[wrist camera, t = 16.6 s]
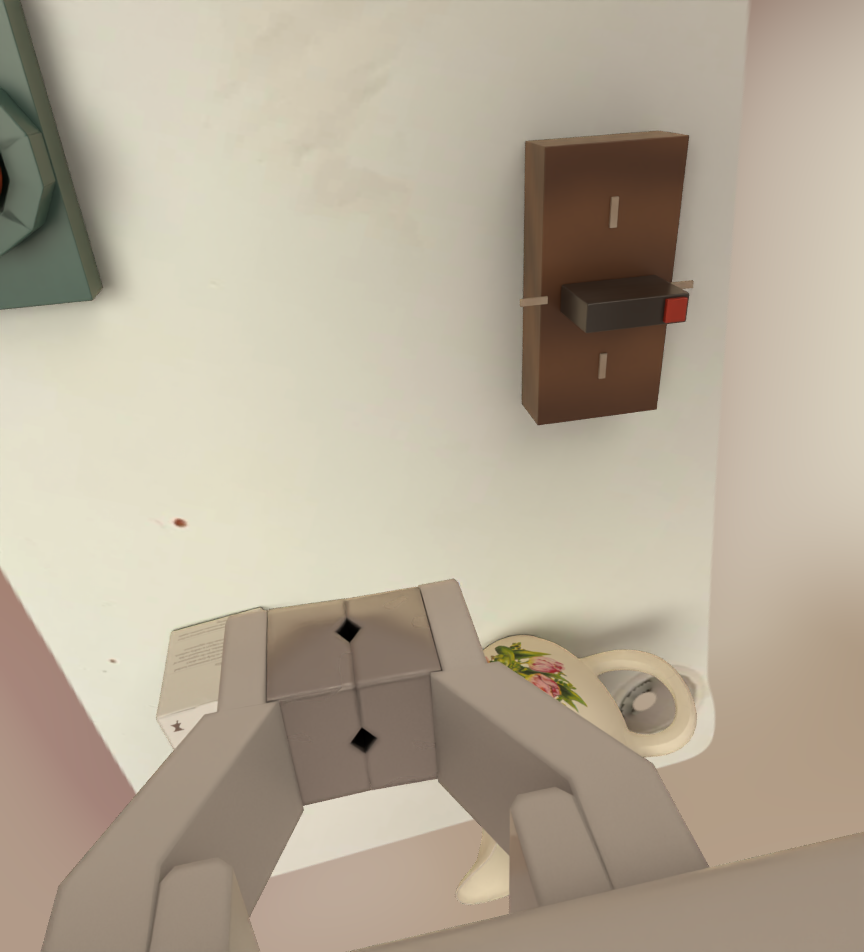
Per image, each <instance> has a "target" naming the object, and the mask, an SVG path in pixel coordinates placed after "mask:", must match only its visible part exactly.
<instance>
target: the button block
mask: <svg viewBox="0 0 864 952" xmlns="http://www.w3.org/2000/svg"><path fill="white" fill-rule="evenodd" d="M0 168H1V172H2V190H1V194H0V310H2V309H12V308H22V307H32V306H41V305H51V304H61V303H71V302H81V301H91V300H93V299H94V298H95V297H96V296H97V294H98V293H99V292H100V291H101V289H102V288H103V286H102V283H101V280H100V276H99V273H98V269H97V266H96V262H95V259H94V255H93V252H92V248H91V245H90V241H89V238H88V234H87V231H86V228H85V224H84V221H83V217H82V214H81V210H80V207H79V203H78V200H77V196H76V193H75V189H74V186H73V182H72V179H71V176H70V172H69V169H68V165H67V162H66V158H65V155H64V151H63V148H62V144H61V141H60V137H59V134H58V130H57V127H56V124H55V120H54V117H53V113H52V110H51V106H50V103H49V99H48V96H47V92H46V89H45V85H44V82H43V78H42V75H41V72H40V68H39V65H38V61H37V58H36V54H35V51H34V47H33V44H32V40H31V37H30V33H29V30H28V26H27V23H26V20H25V16H24V13H23V9H22V6H21V2H20V0H0Z"/></svg>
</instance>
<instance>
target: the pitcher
mask: <svg viewBox="0 0 864 952" xmlns="http://www.w3.org/2000/svg"><path fill="white" fill-rule="evenodd" d="M483 652H484V655H485V658H486V661H487V663H491V662H497V661H499V662H500V663H502V664H503V665H505V666H507V667H508V668H510V669H511V670H513V671H514V672H516V673H517V674H519V675H520V676H522V677H523V678H525V679H526V680H528V681H529V682H531V683H532V684H534V685H535V686H537V687H538V688H540V689H541V690H543V691H544V692H546V693H547V694H549V695H550V696H552V697H553V698H555V699H556V700H558V701H559V702H561V703H562V704H564V705H565V706H567V707H568V708H570V709H571V710H573V711H574V712H576V713H577V714H579V715H580V716H582V717H583V718H585V719H586V720H588V721H589V722H591V723H592V724H594V725H595V726H597V727H598V728H600V729H601V730H603V731H604V732H606V733H607V734H609V735H610V736H612V737H613V738H615V739H616V740H618V741H619V742H621V743H622V744H624V745H625V746H627V747H628V748H630V749H631V750H633V751H634V752H636V753H638V754H639V755H641V756H642V757H653V756H662V755H666V754H670V753H673V752H675V751H677V750H679V749H681V748H682V747H683V746H684V745H686V744H687V743H688V742H689V740H690V739H691V737H692V736H693V734H694V731H695V728H696V721H697V713H696V708H695V703H694V700H693V698H692V695H691V693H690V691H689V688H688V687H687V685H686V683H685V682H684V680H683V679H682V677H681V676H680V674H679V673H678V672H677V671H676V670H675V669H674V668H673V667H672V666H671V665H670V664H669V663H667V662H666V661H665V660H663V659H662V658H660V657H658V656H655V655H653V654H650V653H647V652H643V651H637V650H626V649H624V650H612V651H606V652H602V653H598V654H594V655H591V656H587V657H584V658H577V657H576V656H574V655H573V654H572V653H570V652H569V651H568V650H566V649H565V648H563V647H561V646H559V645H557V644H555V643H553V642H551V641H548V640H545V639H541V638H538V637H535V636H531V635H516V636H511V637H507V638H504V639H501V640H499V641H496V642H494V643H493V644H491V645H489V646H488V647H487V648H485V649H484V650H483ZM614 670H633V671H640V672H644V673H648V674H650V675H652V676H655V677H656V678H657V679H659V680H660V681H661V682H662V683H663V684H664V685H665V686H666V687H667V688H668V689H669V691H670V692H671V694H672V696H673V698H674V701H675V708H676V710H675V717H674V720H673V722H672V724H671V725H670V726H669V727H668V728H667V729H665V730H663V731H662V732H659V733H656V734H649V735H641V734H637V733H634V732H631V731H629V730H628V728H627V726H626V723H625V720H624V718H623V716H622V714H621V712H620V710H619V708H618V706H617V704H616V702H615V701H614V699H613V698H612V696H611V695H610V693H609V692H608V690H607V689H606V687H605V686H604V685H603V683H602V682H601V681H600V680H599V679H598V676H599V675H600V674H603V673H605V672H609V671H614ZM506 896H509V855H508V854H507V853H506V852H505V851H504V850H503V849H502V848H501V847H500V846H499V845H498V844H497V843H496V842H495V841H494V840H493V838H492V837H491V836H490V835H489V834H488V833H487V832H486V831H485V830H484V829H483V828H482V840H481V844H480V849H479V853H478V857H477V861H476V862H475V864H474V865H473V866H472V868H471V869H470V870H469V872H468V873H467V874H466V875H465V876H464V878H463V879H462V880H461V882H460V883H459V885H458V887H457V890H456V894H455V897H456V899H457V901H459V902H460V903H462V904H468V905H472V904H478V903H485V902H489V901H493V900H496V899H500V898H503V897H506Z"/></svg>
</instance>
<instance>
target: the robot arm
mask: <svg viewBox="0 0 864 952" xmlns="http://www.w3.org/2000/svg"><path fill="white" fill-rule="evenodd" d="M433 779H438V782H439V783H440V784H441V785H442V786H443V787H444V788H445V789H446V790H447V791H448V792H449V793H450V794H451V796H452V797H453V798H454V799H455V800H456V801H457V802H458V803H459V804H460V805H461V806H462V807H463V808H464V809H465V810H466V811H467V812H468V813H469V814H470V815H471V816H472V818H473V819H474V820H475V821H476V822H477V823H478V824H479V825H480V826H481V827H482V828H483V829H484V830H485V831H486V832H487V833H488V834H489V835H490V836H491V837H492V838H493V840H494V841H495V842H496V843H497V844H498V845H499V846H500V847H501V848H502V849H503V850H504V851H505V852H506V853H507V854H508V855H509V914H507V915H503V916H499V917H495V918H490V919H486V920H481V921H477V922H473V923H468V924H464V925H460V926H456V927H451V928H447V929H443V930H438V931H434V932H430V933H426V934H421V935H417V936H412V937H408V938H404V939H400V940H395V941H391V942H387V943H382V944H378V945H373V946H369V947H365V948H360V949H356V950H352V951H348V952H864V832H861V833H856V834H852V835H848V836H843V837H839V838H835V839H830V840H826V841H822V842H817V843H813V844H809V845H804V846H800V847H796V848H791V849H787V850H783V851H779V852H774V853H770V854H766V855H761V856H757V857H752V858H748V859H744V860H740V861H735V862H731V863H727V864H722V865H718V866H714V867H709V865H708V864H707V862H706V860H705V858H704V856H703V854H702V853H701V851H700V849H699V847H698V845H697V843H696V842H695V840H694V838H693V836H692V834H691V832H690V831H689V829H688V827H687V825H686V823H685V821H684V819H683V818H682V816H681V814H680V813H679V810H678V809H677V807H676V805H675V803H674V801H673V799H672V797H671V796H670V794H669V792H668V790H667V789H666V787H665V785H664V783H663V781H662V779H661V777H660V775H659V774H658V772H657V770H656V768H655V766H654V764H653V763H651V762H650V761H648V760H647V759H645V758H644V757H642V756H641V755H639V754H638V753H636V752H634V751H633V750H631V749H630V748H628V747H627V746H625V745H624V744H622V743H621V742H619V741H618V740H616V739H615V738H613V737H612V736H610V735H609V734H607V733H606V732H604V731H603V730H601V729H600V728H598V727H597V726H595V725H594V724H592V723H591V722H589V721H588V720H586V719H585V718H583V717H582V716H580V715H579V714H577V713H576V712H574V711H573V710H571V709H570V708H568V707H567V706H565V705H564V704H562V703H561V702H559V701H558V700H556V699H555V698H553V697H552V696H550V695H549V694H547V693H546V692H544V691H543V690H541V689H540V688H538V687H537V686H535V685H534V684H532V683H531V682H529V681H528V680H526V679H525V678H523V677H522V676H520V675H519V674H517V673H516V672H514V671H513V670H511V669H510V668H508V667H507V666H505V665H503V664H502V663H500V662H499V661H497V662H491V663H487V661H486V658H485V655H484V652H483V650H482V647H481V644H480V641H479V638H478V636H477V633H476V630H475V627H474V625H473V622H472V619H471V616H470V614H469V611H468V608H467V605H466V602H465V600H464V597H463V594H462V591H461V589H460V586H459V583H458V582H457V581H456V580H455V579H449V580H444V581H438V582H433V583H428V584H422V585H418V587H411V588H405V589H399V590H393V591H387V592H381V593H376V594H370V595H364V596H358V597H352V598H346V599H345V598H344V599H337V600H330V601H323V602H316V603H309V604H302V605H294V606H287V607H280V608H273V609H269V611H268V610H262V611H256V612H249V613H242V614H235V615H229V617H228V619H227V621H226V623H225V632H224V642H223V653H222V663H221V673H220V684H219V694H218V704H217V712H214V713H209V714H204V715H203V717H202V718H201V719H200V720H199V721H198V723H197V724H196V725H195V726H194V727H193V728H192V730H191V731H190V732H189V733H188V734H187V735H186V737H185V738H184V739H183V740H182V741H181V743H180V744H179V745H178V746H177V747H176V748H175V750H174V751H173V752H172V753H171V754H170V755H169V757H168V758H167V759H166V760H165V761H164V762H163V764H162V765H161V766H160V767H159V768H158V770H157V771H156V772H155V773H154V774H153V775H152V777H151V778H150V779H149V780H148V781H147V782H146V784H145V785H144V786H143V787H142V788H141V790H140V791H139V792H138V793H137V794H136V795H135V797H134V798H133V799H132V800H131V801H130V803H129V804H128V805H127V806H126V807H125V808H124V810H123V811H122V812H121V813H120V814H119V815H118V817H117V818H116V819H115V820H114V821H113V822H112V824H111V825H110V826H109V827H108V828H107V830H106V831H105V832H104V833H103V834H102V835H101V837H100V838H99V839H98V840H97V841H96V842H95V844H94V845H93V846H92V847H91V848H90V850H89V851H88V852H87V853H86V854H85V855H84V857H83V858H82V859H81V860H80V861H79V862H78V864H77V865H76V866H75V867H74V868H73V870H72V871H71V872H70V873H69V874H68V875H67V877H66V878H65V879H64V880H63V881H62V882H61V884H60V885H59V886H58V890H57V894H56V898H55V901H54V905H53V909H52V912H51V916H50V919H49V923H48V927H47V930H46V934H45V938H44V942H43V945H42V949H41V952H260V949H259V946H258V943H257V940H256V937H255V934H254V931H253V928H252V925H251V922H250V919H249V917H250V915H251V913H252V911H253V909H254V907H255V905H256V903H257V901H258V900H259V898H260V896H261V894H262V892H263V890H264V888H265V886H266V884H267V882H268V880H269V878H270V876H271V874H272V872H273V870H274V868H275V866H276V864H277V862H278V860H279V858H280V856H281V854H282V852H283V850H284V848H285V846H286V844H287V842H288V840H289V838H290V836H291V834H292V832H293V830H294V828H295V826H296V824H297V822H298V821H299V819H300V817H301V815H302V813H303V811H304V809H303V806H304V805H309V804H313V803H317V802H322V801H326V800H330V799H335V798H339V797H343V796H348V795H352V794H356V793H361V792H365V791H369V790H375V789H381V788H386V787H392V786H398V785H404V784H410V783H415V782H421V781H427V780H433ZM370 784H371V785H370Z"/></svg>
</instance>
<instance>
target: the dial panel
mask: <svg viewBox="0 0 864 952" xmlns="http://www.w3.org/2000/svg"><path fill="white" fill-rule="evenodd" d="M688 141H689V135H684V134H677V133H671V132H664V131H649V132H636V133H623V134H610V135H597V136H584V137H571V138H558V139H546V140H533V141H526V142H525V204H524V279H523V299H520V307H523V355H522V405H523V406H524V407H525V409H526V410H527V411H528V413H529V414H530V415H531V417H532V418H533V419H534V421H535V422H536V423H537V425H544V424H552V423H559V422H566V421H574V420H581V419H589V418H596V417H603V416H611V415H618V414H626V413H633V412H640V411H648V410H655V409H657V401H658V393H659V385H660V376H661V368H662V359H663V351H664V343H665V334H666V326H667V324H661V325H653V326H644V327H636V328H627V329H618V330H610V331H601V332H592V333H585V332H584V331H583V330H582V329H580V328H579V327H578V326H577V325H576V324H575V323H573V322H572V321H571V320H570V319H569V318H567V317H566V316H565V315H564V314H563V313H561V311H560V309H561V286H562V285H563V284H572V283H582V282H591V281H601V280H610V279H620V278H629V277H639V276H648V275H656V276H658V277H660V278H662V279H664V280H666V281H668V282H669V283H671V284H673V285H675V286H677V287H679V288H681V289H686V288H693V282H694V281H693V280H690V281H681V282H672V276H673V267H674V259H675V250H676V242H677V234H678V225H679V217H680V209H681V200H682V192H683V183H684V175H685V167H686V158H687V150H688Z"/></svg>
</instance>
